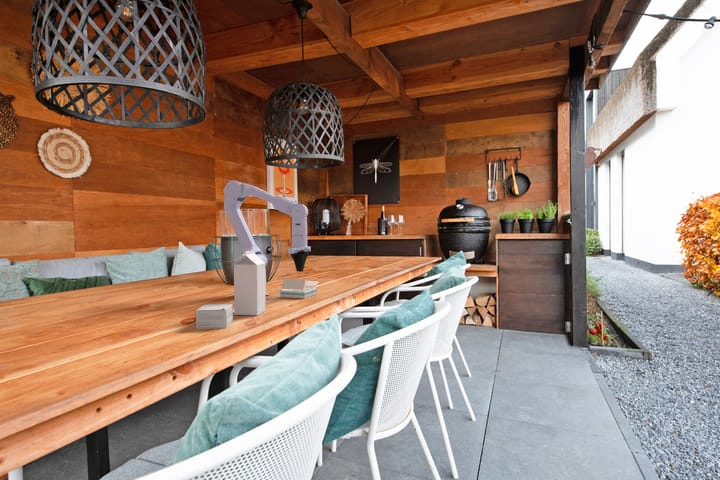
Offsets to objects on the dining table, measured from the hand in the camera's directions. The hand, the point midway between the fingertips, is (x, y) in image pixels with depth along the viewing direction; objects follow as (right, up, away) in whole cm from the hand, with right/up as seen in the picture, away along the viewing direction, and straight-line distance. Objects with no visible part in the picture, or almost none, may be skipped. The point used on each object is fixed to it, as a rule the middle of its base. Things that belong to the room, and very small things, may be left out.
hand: (299, 271), depth 152 cm
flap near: (-2, -6, -5) cm, 8 cm away
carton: (0, -9, -1) cm, 9 cm away
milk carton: (-10, -10, -31) cm, 34 cm away
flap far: (+1, -6, +4) cm, 7 cm away
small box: (-16, -11, -45) cm, 49 cm away
